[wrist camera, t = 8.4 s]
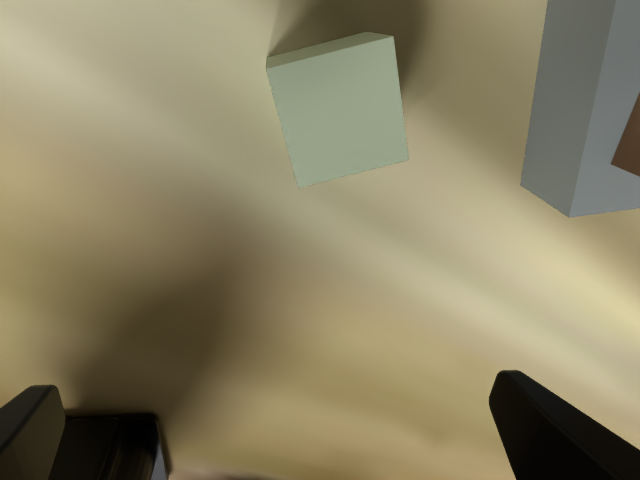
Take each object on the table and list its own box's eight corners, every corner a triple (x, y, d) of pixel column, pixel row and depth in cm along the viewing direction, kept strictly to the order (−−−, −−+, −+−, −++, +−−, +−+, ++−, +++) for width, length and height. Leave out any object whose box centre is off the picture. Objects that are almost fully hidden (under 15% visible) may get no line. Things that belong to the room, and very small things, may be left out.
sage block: (381, 131, 18) (408, 159, 15) (292, 154, 18) (298, 188, 15) (366, 31, 16) (393, 36, 13) (266, 57, 16) (265, 69, 13)
